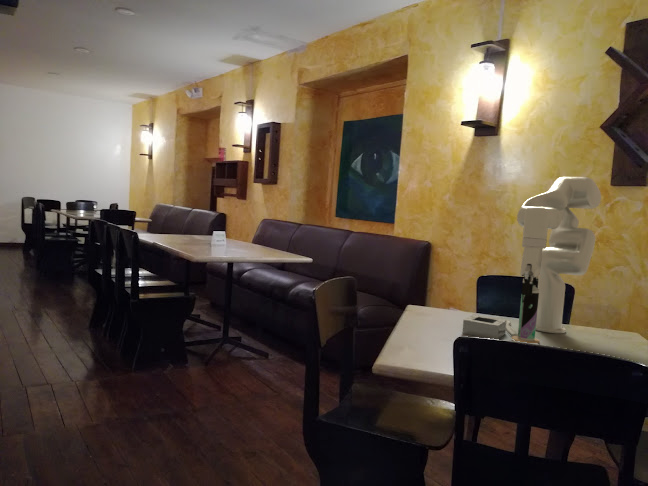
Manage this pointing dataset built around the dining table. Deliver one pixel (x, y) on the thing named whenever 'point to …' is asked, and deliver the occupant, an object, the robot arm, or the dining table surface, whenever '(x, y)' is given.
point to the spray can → (528, 315)
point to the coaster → (524, 340)
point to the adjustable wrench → (510, 329)
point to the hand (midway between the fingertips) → (529, 293)
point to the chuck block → (484, 326)
